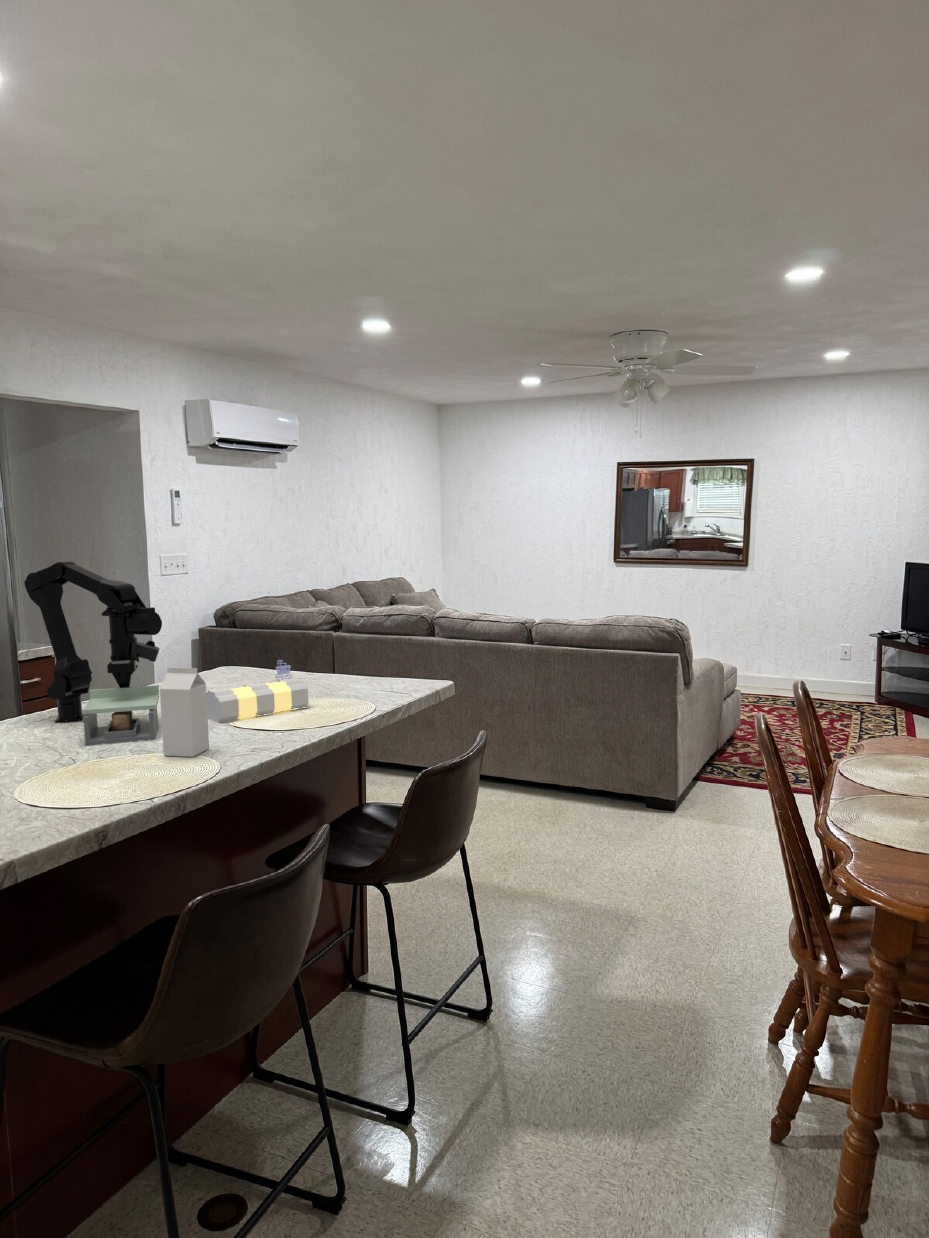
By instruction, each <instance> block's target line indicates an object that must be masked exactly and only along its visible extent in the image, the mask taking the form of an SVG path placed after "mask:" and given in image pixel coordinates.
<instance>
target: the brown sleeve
mask: <svg viewBox="0 0 929 1238" xmlns="http://www.w3.org/2000/svg"><path fill="white" fill-rule="evenodd" d="M111 720H112V732H114V731H126V730H131V725H130V712H116V713H114V712H112V713H111Z"/></svg>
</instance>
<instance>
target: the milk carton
mask: <svg viewBox="0 0 929 1238" xmlns="http://www.w3.org/2000/svg"><path fill="white" fill-rule="evenodd" d="M166 669H167V670H166V671H167V672H166V675H165V677H164V679H163V681H162V683H161V686H159V699H160V714H161V715H160V716H161V730H162V731H161V732H162V745H163V746H162V747H163V749H162V750H163V756H165V757H184V758H185V757H186V758H187V757H189V758H193V757H195V756H197V755H199V754H201V753H203V752H204V751H207V750H209V749H210V735H209V721H208V720H209V718H208V715H207V696H206V693H207V683H206V681H204V679H203V678H202V677H201V675H200V674H199V673H198V668H197V667H167V668H166Z"/></svg>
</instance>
